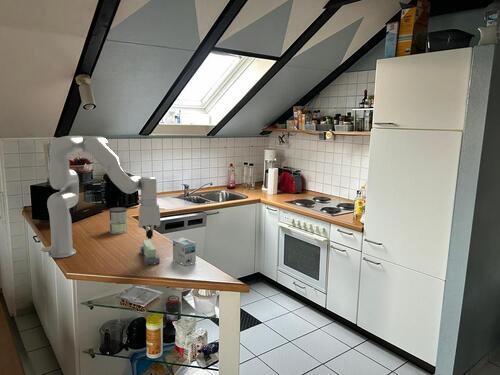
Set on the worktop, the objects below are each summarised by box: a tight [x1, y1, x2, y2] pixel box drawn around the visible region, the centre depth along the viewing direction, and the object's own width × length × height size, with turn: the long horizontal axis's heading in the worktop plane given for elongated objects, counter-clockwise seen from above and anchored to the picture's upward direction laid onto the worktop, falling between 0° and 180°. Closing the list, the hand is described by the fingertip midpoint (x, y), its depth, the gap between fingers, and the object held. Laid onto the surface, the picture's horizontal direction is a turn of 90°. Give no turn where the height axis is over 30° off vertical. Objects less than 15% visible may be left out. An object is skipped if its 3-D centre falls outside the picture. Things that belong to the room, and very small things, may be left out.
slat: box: [142, 239, 157, 258], centre depth 193 cm, size 4×16×7 cm, turn 24°
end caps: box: [139, 245, 160, 265], centre depth 193 cm, size 6×20×3 cm, turn 24°
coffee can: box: [108, 206, 128, 235], centre depth 236 cm, size 10×10×14 cm
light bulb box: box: [172, 237, 197, 266], centre depth 189 cm, size 11×7×11 cm, turn 46°
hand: (149, 238), depth 192 cm, fingers closed
